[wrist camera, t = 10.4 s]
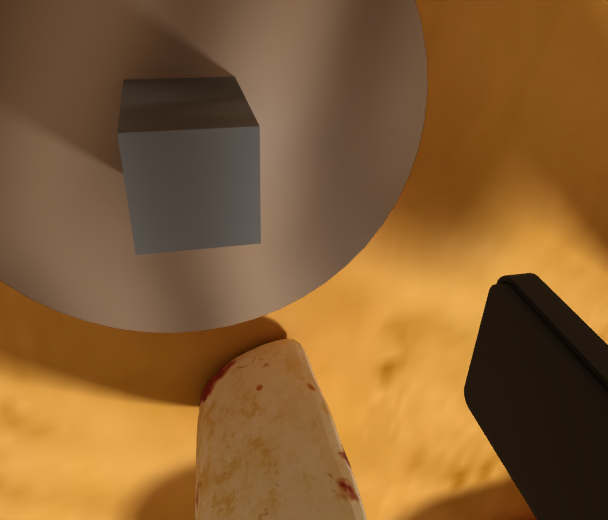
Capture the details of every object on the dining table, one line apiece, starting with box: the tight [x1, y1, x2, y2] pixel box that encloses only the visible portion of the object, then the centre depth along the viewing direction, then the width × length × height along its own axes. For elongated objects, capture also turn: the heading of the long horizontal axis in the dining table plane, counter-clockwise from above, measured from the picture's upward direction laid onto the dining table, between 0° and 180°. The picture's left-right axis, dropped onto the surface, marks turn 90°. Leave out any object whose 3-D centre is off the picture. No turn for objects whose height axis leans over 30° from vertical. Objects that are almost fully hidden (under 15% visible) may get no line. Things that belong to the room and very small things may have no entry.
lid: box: [0, 0, 428, 333], centre depth 18 cm, size 18×18×6 cm
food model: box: [195, 339, 367, 520], centre depth 29 cm, size 10×7×20 cm
